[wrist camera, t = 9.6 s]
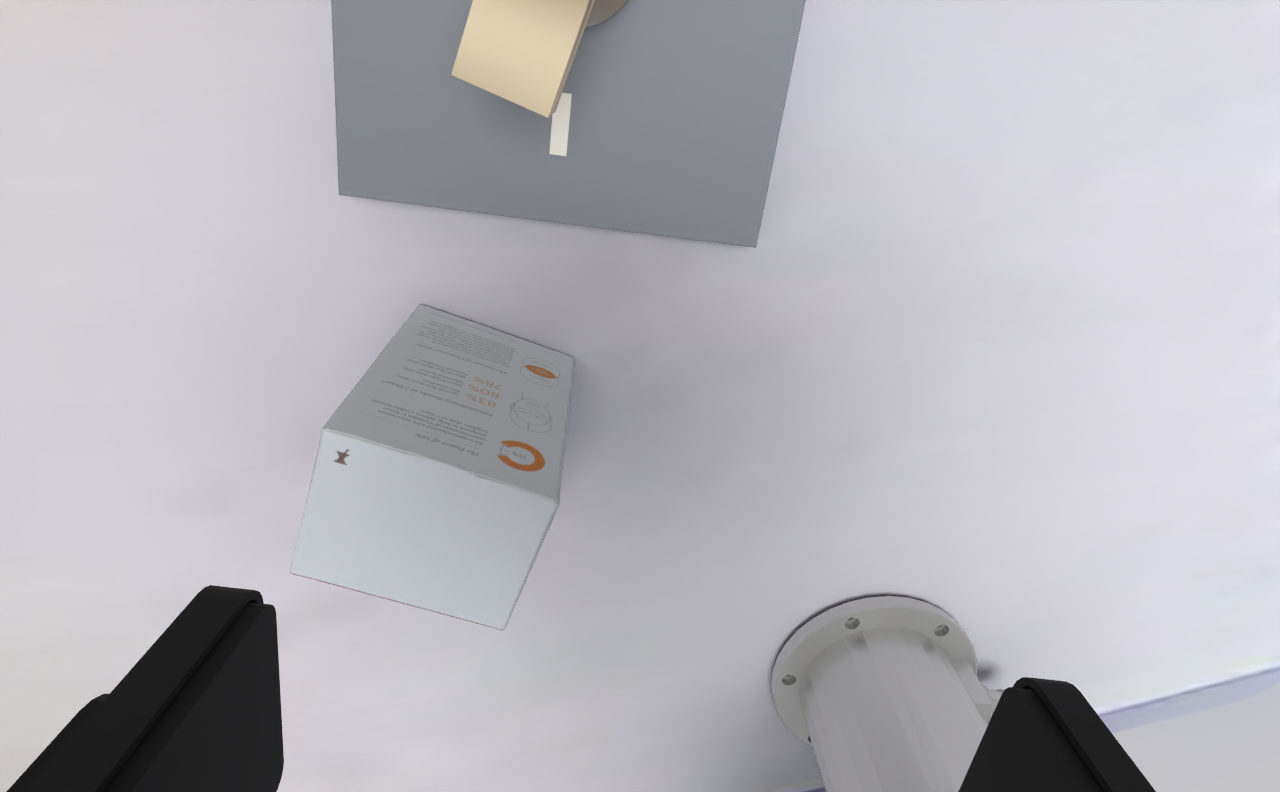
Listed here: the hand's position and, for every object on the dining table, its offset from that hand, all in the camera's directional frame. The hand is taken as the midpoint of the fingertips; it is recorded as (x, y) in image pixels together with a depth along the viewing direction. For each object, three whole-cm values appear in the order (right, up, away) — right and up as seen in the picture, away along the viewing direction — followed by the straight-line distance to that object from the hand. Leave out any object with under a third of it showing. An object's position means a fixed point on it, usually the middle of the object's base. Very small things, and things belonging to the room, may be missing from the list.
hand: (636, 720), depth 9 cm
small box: (-8, +5, +27) cm, 29 cm away
